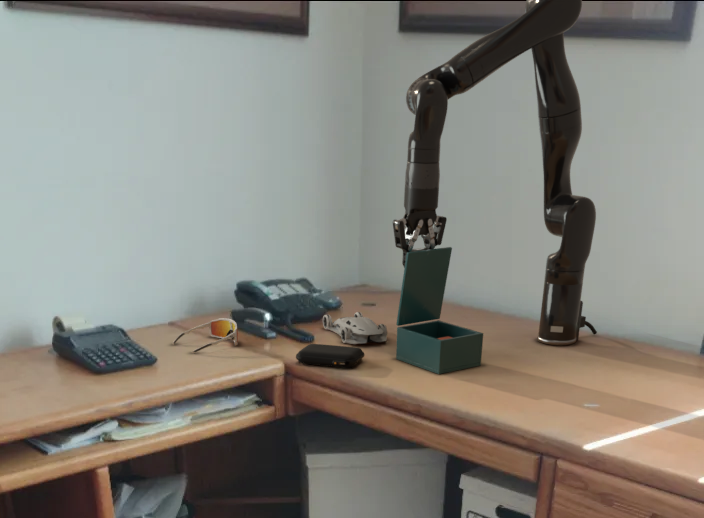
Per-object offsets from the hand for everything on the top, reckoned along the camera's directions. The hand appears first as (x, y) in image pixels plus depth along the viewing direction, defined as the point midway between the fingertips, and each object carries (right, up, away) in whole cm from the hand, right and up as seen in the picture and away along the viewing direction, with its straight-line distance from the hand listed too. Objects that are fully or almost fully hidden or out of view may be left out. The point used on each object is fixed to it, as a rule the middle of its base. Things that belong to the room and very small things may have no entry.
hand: (417, 266), depth 214 cm
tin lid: (+2, -5, 0) cm, 5 cm away
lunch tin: (+5, -21, +4) cm, 22 cm away
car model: (-14, -8, +25) cm, 30 cm away
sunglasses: (-50, -12, +18) cm, 55 cm away
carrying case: (-20, -21, +4) cm, 29 cm away
